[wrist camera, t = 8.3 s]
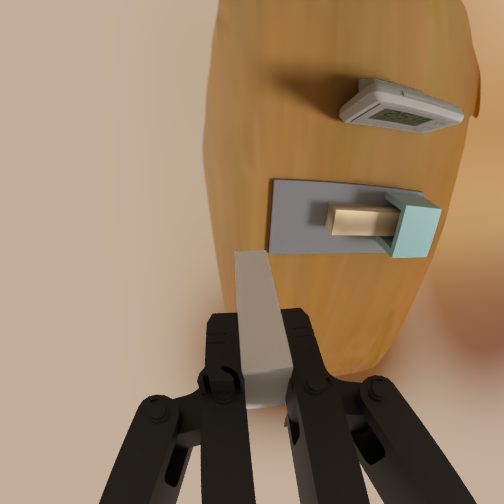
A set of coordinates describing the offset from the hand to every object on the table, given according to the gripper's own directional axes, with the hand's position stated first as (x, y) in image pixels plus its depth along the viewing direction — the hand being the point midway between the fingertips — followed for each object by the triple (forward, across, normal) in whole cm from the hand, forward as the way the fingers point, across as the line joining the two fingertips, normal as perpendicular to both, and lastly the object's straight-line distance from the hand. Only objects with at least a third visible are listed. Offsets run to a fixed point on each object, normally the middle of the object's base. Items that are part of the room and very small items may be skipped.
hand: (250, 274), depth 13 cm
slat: (+25, +21, -8) cm, 34 cm away
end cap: (+25, +28, -9) cm, 38 cm away
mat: (+26, +18, -9) cm, 33 cm away
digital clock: (+27, +22, +9) cm, 36 cm away
